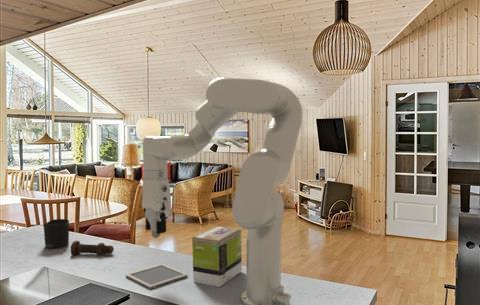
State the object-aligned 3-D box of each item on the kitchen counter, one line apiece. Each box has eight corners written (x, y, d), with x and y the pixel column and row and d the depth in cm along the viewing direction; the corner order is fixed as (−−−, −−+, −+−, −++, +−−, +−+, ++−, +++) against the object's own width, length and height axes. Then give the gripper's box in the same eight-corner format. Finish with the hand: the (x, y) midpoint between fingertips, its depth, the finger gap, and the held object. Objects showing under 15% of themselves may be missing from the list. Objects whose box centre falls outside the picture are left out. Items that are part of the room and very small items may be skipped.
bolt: (111, 260, 151) (72, 258, 151) (115, 250, 155) (77, 248, 155) (109, 249, 147) (69, 247, 148) (113, 239, 152) (74, 237, 152)
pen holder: (41, 245, 163) (40, 221, 163) (65, 241, 169) (64, 218, 169) (47, 250, 156) (47, 225, 155) (72, 246, 162) (72, 222, 161)
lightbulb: (161, 241, 124) (160, 206, 124) (143, 240, 125) (142, 205, 125) (168, 236, 130) (168, 202, 130) (151, 235, 131) (150, 202, 131)
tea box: (216, 267, 138) (216, 225, 137) (242, 272, 133) (242, 228, 132) (191, 282, 124) (191, 235, 124) (219, 288, 120) (219, 239, 119)
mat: (187, 276, 129) (187, 274, 129) (150, 289, 119) (150, 286, 119) (162, 266, 138) (162, 263, 138) (125, 277, 128) (125, 274, 128)
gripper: (181, 176, 123) (181, 234, 124) (150, 171, 135) (151, 224, 136) (161, 178, 118) (161, 238, 119) (130, 173, 130) (131, 228, 131)
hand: (155, 230), depth 128 cm, fingers closed on lightbulb, 5 cm apart
